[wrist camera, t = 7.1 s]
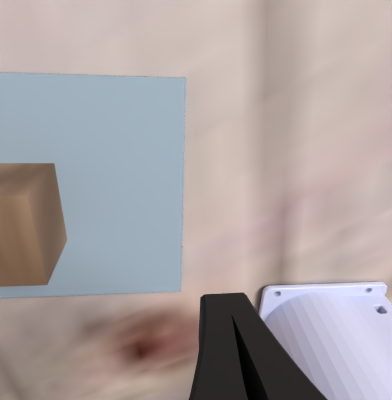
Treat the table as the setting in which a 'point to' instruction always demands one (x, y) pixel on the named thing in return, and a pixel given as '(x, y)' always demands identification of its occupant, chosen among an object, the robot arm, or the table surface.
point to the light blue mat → (104, 175)
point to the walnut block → (29, 223)
